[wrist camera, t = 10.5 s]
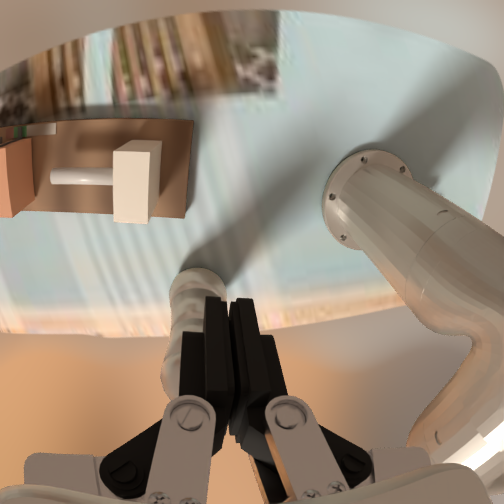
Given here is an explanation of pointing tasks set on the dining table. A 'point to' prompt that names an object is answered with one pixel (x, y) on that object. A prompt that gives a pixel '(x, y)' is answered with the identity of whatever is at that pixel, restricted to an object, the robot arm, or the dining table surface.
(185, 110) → the dining table surface
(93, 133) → the base
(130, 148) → the plunger
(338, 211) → the robot arm
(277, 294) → the dining table surface
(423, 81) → the dining table surface
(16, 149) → the block
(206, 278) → the plastic bottle
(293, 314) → the dining table surface
